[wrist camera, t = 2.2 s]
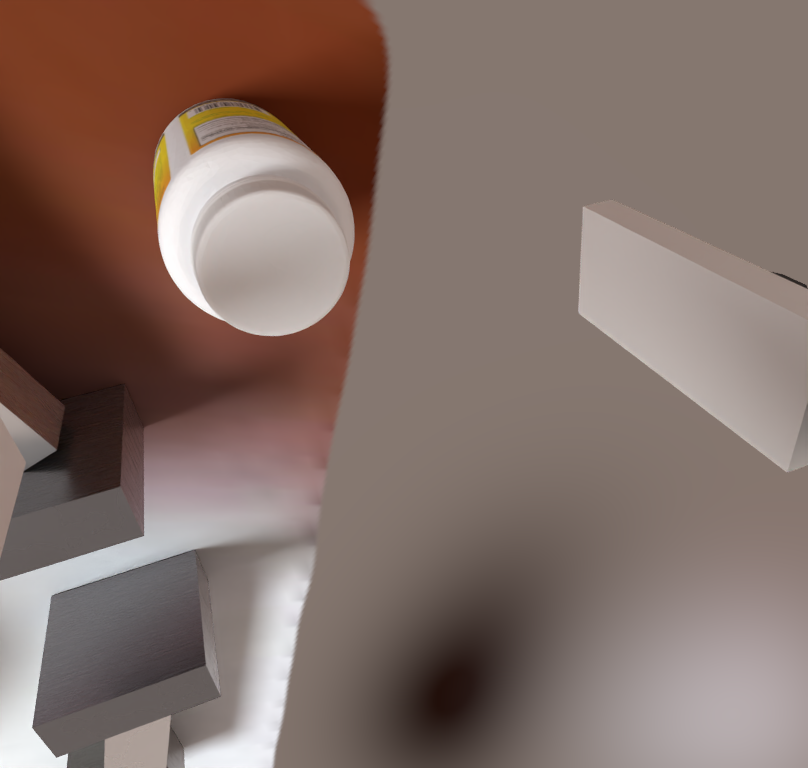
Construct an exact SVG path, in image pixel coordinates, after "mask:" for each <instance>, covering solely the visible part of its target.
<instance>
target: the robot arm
mask: <svg viewBox="0 0 808 768" xmlns="http://www.w3.org/2000/svg"><path fill="white" fill-rule="evenodd" d="M581 240H582V241H581V262H580V263H581V264H580V286H579V309H578V313H579V314H580V315H582V316H583V317H584V318H585V319H587V320H588V321H589V322H591V323H592V324H593V325H595V326H596V327H597V328H599V329H600V330H601V331H603V332H604V333H605V334H606V335H608V336H609V337H610V338H612V339H613V340H614V341H616V342H617V343H618V344H620V345H621V346H622V347H623V348H625V349H626V350H627V351H629V352H630V353H631V354H633V355H634V356H635V357H637V358H638V359H639V360H640V361H642V362H643V363H644V364H646V365H647V366H648V367H650V368H651V369H652V370H654V371H655V372H656V373H657V374H659V375H660V376H662V377H663V378H664V379H665V380H667V381H668V382H670V383H671V384H672V385H673V386H675V387H676V388H677V389H679V390H680V391H681V392H682V393H684V394H685V395H686V396H688V397H689V398H690V399H692V400H693V401H694V402H696V403H697V404H698V405H699V406H701V407H702V408H703V409H705V410H706V411H707V412H709V413H710V414H711V415H713V416H714V417H715V418H716V419H718V420H719V421H720V422H722V423H723V424H724V425H726V426H727V427H728V428H730V429H731V430H732V431H734V432H735V433H736V434H737V435H739V436H740V437H741V438H743V439H744V440H745V441H747V442H748V443H749V444H751V445H752V446H753V447H755V448H756V449H757V450H759V451H760V452H761V453H763V454H764V455H765V456H766V457H768V458H769V459H770V460H772V461H773V462H774V463H775V464H777V465H778V466H779V467H781V468H782V469H783V470H785V471H786V472H790V471H793V470H796V469H799V468H801V467H804V466H807V465H808V288H807V286H806V285H805V284H803V283H801V282H798V281H796V280H793V279H791V278H789V277H787V276H785V275H783V274H778V273H774V272H770V271H767V270H764V269H763V268H761V267H758V266H756V265H754V264H752V263H750V262H747V261H745V260H743V259H741V258H739V257H736V256H734V255H732V254H730V253H728V252H726V251H724V250H721V249H719V248H717V247H715V246H712V245H710V244H708V243H706V242H704V241H702V240H699V239H697V238H695V237H693V236H691V235H689V234H686V233H684V232H682V231H680V230H678V229H676V228H673V227H671V226H669V225H667V224H665V223H662V222H660V221H658V220H656V219H654V218H652V217H649V216H647V215H645V214H643V213H641V212H639V211H636V210H634V209H632V208H630V207H627V206H625V205H623V204H621V203H619V202H617V201H615V200H608V201H604V202H599V203H595V204H591V205H586V206H583V216H582V239H581ZM25 464H26V461H25V460H24V458H23V456H22V454H21V453H20V451H19V449H18V447H17V446H16V444H15V442H14V440H13V439H12V437H11V435H10V433H9V432H8V430H7V428H6V426H5V425H4V423H3V421H2V419H1V417H0V557H1V553H2V550H3V546H4V542H5V539H6V535H7V531H8V527H9V524H10V520H11V516H12V513H13V509H14V505H15V501H16V498H17V494H18V490H19V487H20V483H21V479H22V475H23V472H24V468H25Z"/></svg>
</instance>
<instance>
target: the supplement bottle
mask: <svg viewBox="0 0 808 768" xmlns="http://www.w3.org/2000/svg"><path fill="white" fill-rule="evenodd" d="M153 182H154V192H155V204H156V214H157V215H156V216H157V227H158V237H159V244H160V249H161V253H162V257H163V260H164V263H165V265H166V268H167V270H168V272H169V274H170V276H171V277H172V279H173V281H174V282H175V283H176V285H177V286H178V287H179V289H180V290H181V291H182V292H183V294H184V295H185V296H186V297H187V298H188V299H189V300H191V301H192V302H193V303H194V304H195V305H197V306H198V307H199V308H201V309H202V310H204V311H205V312H207V313H209V314H210V315H212V316H214V317H216V318H218V319H221V320H224V321H226V322H227V323H229V324H230V325H232V326H234V327H235V328H237V329H239V330H242V331H245V332H248V333H251V334H256V335H262V336H281V335H287V334H292V333H295V332H298V331H301V330H303V329H306V328H308V327H310V326H311V325H313V324H315V323H316V322H318V321H319V320H321V319H322V318H323V317H324V316H325V315H326V314H327V313H329V311H330V310H331V309H332V308H333V307H334V305H335V304H336V303H337V301H338V300H339V298H340V296H341V295H342V293H343V290H344V288H345V285H346V282H347V279H348V274H349V266H350V259H351V256H352V251H353V246H354V219H353V213H352V209H351V206H350V202H349V199H348V196H347V194H346V192H345V190H344V188H343V186H342V184H341V183H340V181H339V180H338V178H337V177H336V175H335V174H334V173H333V171H332V170H331V169H330V168H329V166H328V165H327V164H326V163H325V162H324V161H323V160H322V159H321V158H320V157H319V156H318V155H316V154H315V153H314V152H313V151H312V150H311V149H310V148H309V147H308V146H307V145H306V144H305V143H303V142H302V141H301V140H300V139H299V138H298V137H297V136H296V135H295V134H294V133H293V132H292V131H290V130H289V129H288V128H287V127H286V126H285V125H284V124H283V123H282V122H281V121H280V120H279V119H277V118H276V117H275V116H274V115H272V114H271V113H269V112H268V111H266V110H264V109H263V108H261V107H259V106H257V105H254V104H251V103H248V102H245V101H241V100H236V99H213V100H208V101H204V102H201V103H198V104H196V105H194V106H192V107H190V108H188V109H186V110H185V111H183V112H182V113H181V114H179V115H178V116H177V117H176V118H175V119H174V120H173V121H172V122H171V123H170V124H169V125H168V127H167V128H166V129H165V131H164V132H163V134H162V136H161V138H160V140H159V143H158V145H157V148H156V152H155V157H154V165H153Z"/></svg>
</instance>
